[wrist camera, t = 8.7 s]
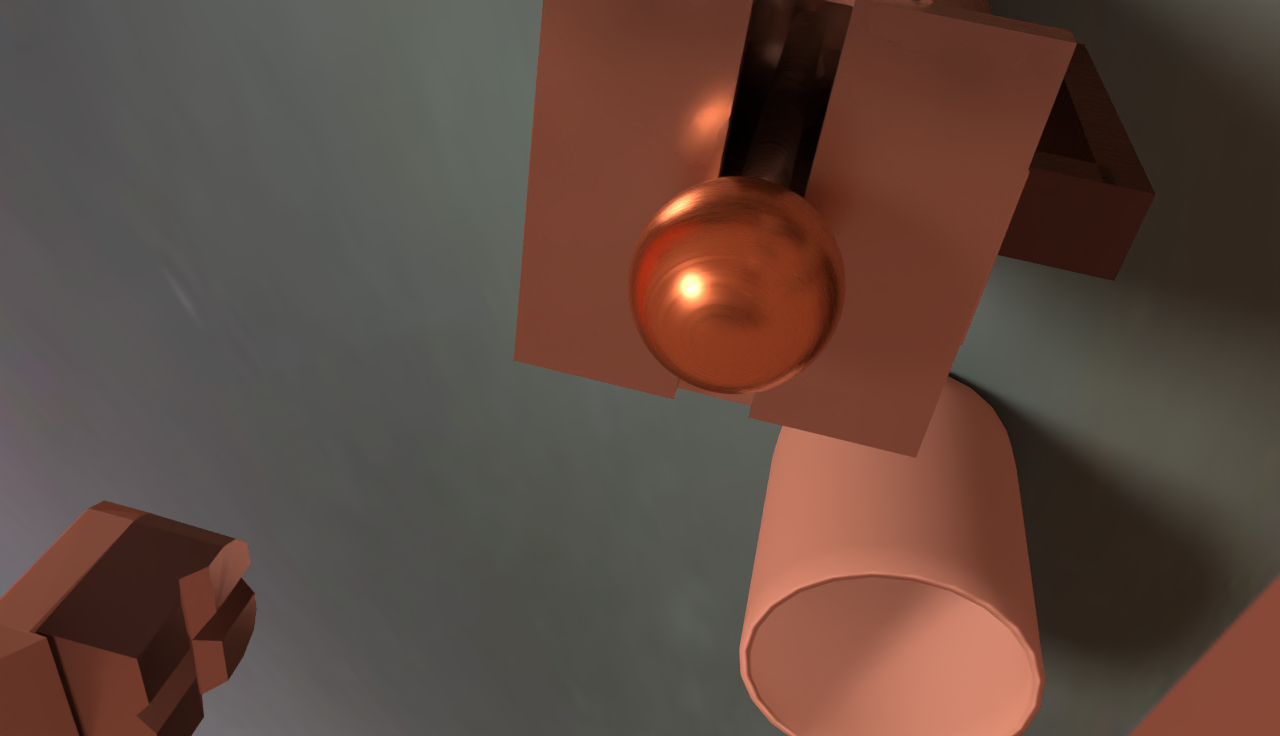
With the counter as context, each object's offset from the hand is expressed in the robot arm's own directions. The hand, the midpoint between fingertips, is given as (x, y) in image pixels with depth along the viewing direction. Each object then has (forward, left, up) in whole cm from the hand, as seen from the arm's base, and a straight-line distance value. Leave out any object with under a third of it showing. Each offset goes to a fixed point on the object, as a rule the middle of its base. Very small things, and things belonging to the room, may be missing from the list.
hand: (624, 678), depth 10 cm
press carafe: (0, +2, -28) cm, 28 cm away
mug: (+19, +7, -28) cm, 34 cm away
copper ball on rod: (0, 0, -24) cm, 24 cm away
